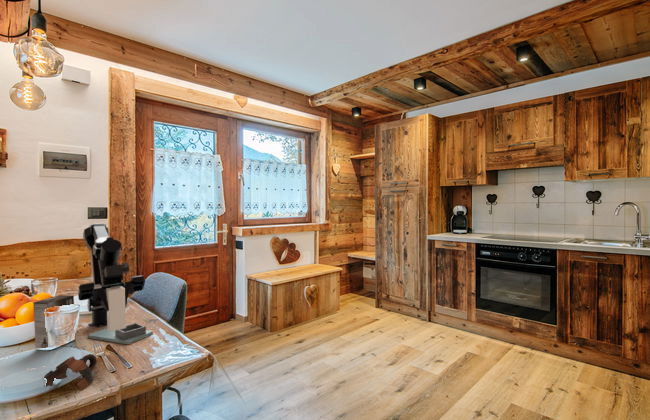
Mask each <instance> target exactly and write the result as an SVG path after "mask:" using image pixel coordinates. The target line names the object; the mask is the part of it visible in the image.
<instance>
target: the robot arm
mask: <svg viewBox="0 0 650 420" xmlns="http://www.w3.org/2000/svg"><path fill="white" fill-rule="evenodd" d="M82 239H83V242H85V246H86V248H87V249H88V250H89V251H90V255H91V256H90V257H91V266H92V267H91V269H92V277H93V278H92V279H93V281H92V282H86V283H81V284H79V285H78V289H77V290H78V291H77V292H78V293H77V294H78V296H77V297H78V301H86V300H87V310H88V312H91V323H88V324H87V325H88V326H91V327H97V328H100V327H103V326H105V325H106V326H107V311H109V306H108V302H107V297H106V288H111V287H114V286H122V287H124V288H125V309H127V306H128V305H127V304H128V300H129V299H128V298H130V297H129V296H130V295H132V294H133V293H134V292H141V291H144V287H145V283H146V279H145V278H146V277H145V276H144V275H136V276H131V278H130V281H124V274H129V272H130V266H129V262H122V263H121V264H119V260H120V256H121V252H122V251H123V246H122V243H121V242H120V241H119V240H117V239H114V237H113V236H112V237H111V236H110V235H109V227H107V225H106V223H92V224H90V226H88V227H86V228H84V230H83V233H82Z"/></svg>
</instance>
